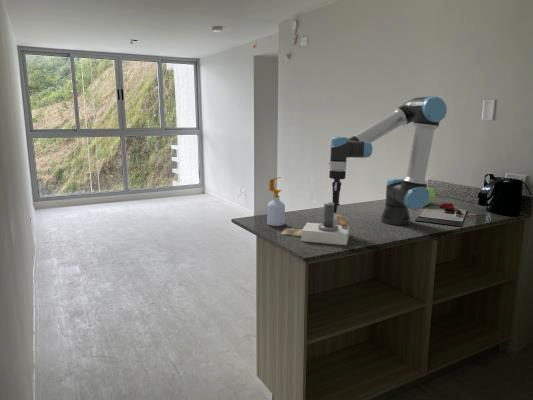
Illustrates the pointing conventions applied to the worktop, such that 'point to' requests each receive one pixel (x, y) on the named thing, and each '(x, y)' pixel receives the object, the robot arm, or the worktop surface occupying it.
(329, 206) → the plug
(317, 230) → the socket block
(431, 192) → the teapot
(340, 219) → the clip
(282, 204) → the soap bottle
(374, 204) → the worktop surface
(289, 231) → the cork mat
